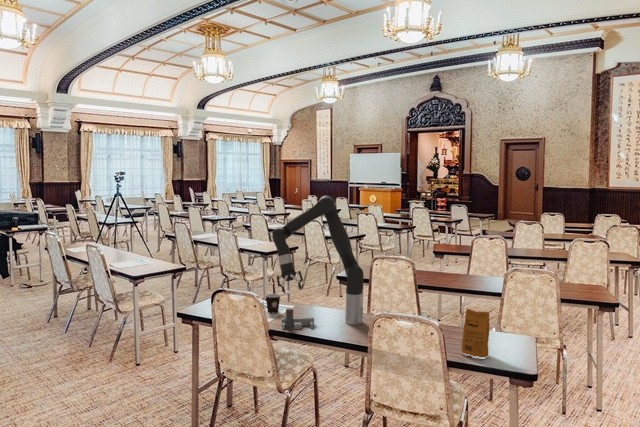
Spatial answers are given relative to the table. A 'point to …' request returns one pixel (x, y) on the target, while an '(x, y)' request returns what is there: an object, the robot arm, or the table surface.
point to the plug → (289, 317)
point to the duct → (299, 322)
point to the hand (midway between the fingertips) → (292, 291)
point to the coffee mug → (272, 302)
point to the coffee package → (476, 333)
